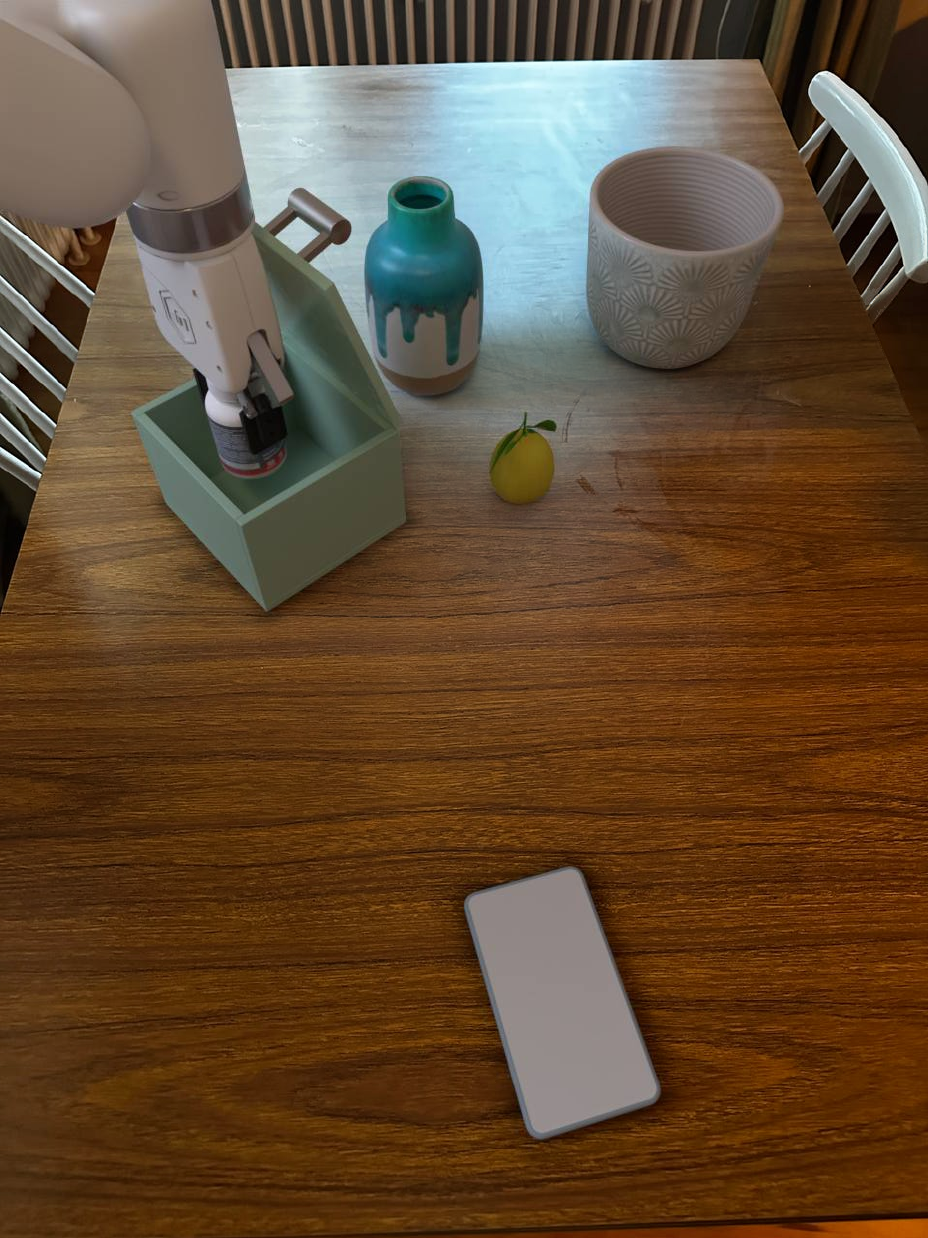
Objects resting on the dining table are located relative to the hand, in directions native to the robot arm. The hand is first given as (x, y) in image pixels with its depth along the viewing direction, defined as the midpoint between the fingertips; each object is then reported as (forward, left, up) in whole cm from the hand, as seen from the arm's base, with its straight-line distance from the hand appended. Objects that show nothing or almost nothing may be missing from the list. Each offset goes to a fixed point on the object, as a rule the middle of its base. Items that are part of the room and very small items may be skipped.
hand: (245, 420), depth 73 cm
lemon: (+16, -14, -12) cm, 25 cm away
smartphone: (-14, -43, -12) cm, 47 cm away
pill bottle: (0, 0, -4) cm, 4 cm away
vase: (+22, +3, -12) cm, 26 cm away
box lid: (+6, -1, +7) cm, 9 cm away
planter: (+42, -10, -12) cm, 45 cm away
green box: (+1, 0, -12) cm, 12 cm away
